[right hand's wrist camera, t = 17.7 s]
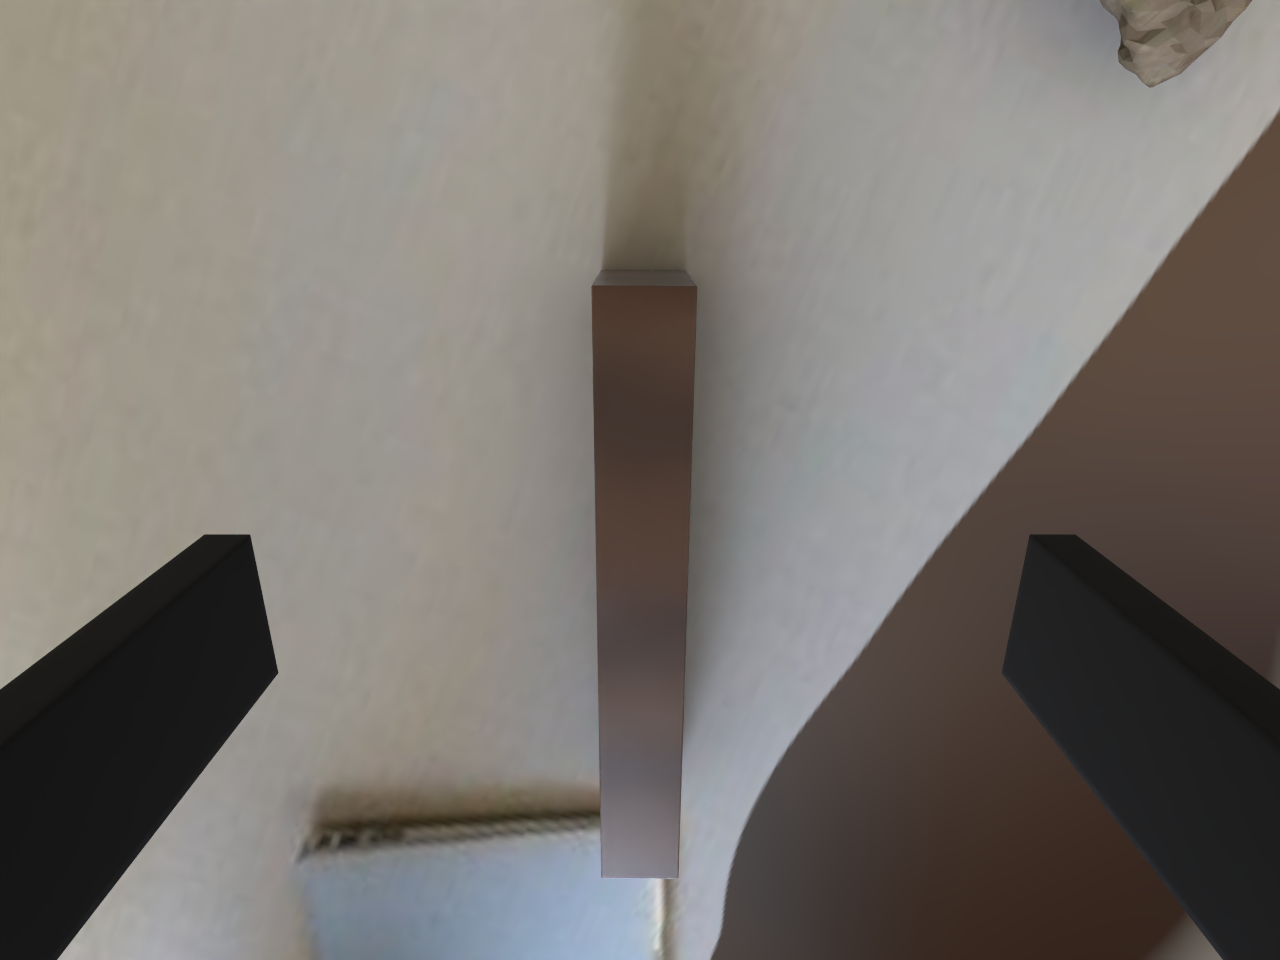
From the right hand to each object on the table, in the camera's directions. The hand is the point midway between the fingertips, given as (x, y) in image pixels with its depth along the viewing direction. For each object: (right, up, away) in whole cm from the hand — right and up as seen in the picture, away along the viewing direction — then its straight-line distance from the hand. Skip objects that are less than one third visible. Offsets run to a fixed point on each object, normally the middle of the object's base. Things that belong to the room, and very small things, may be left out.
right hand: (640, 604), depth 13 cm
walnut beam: (0, -2, +27) cm, 27 cm away
